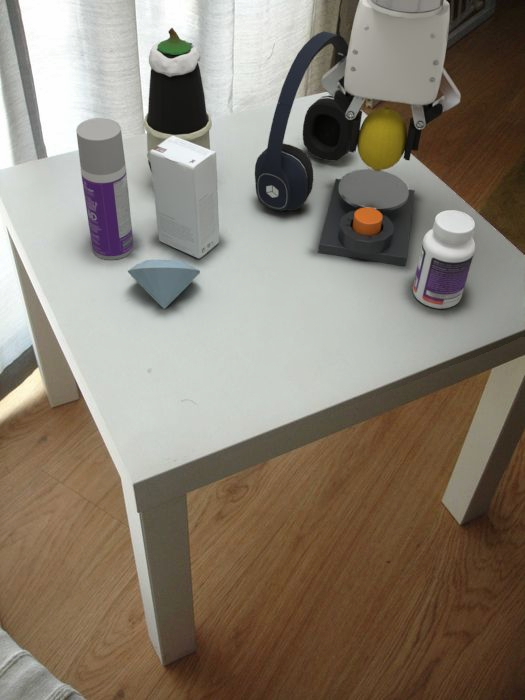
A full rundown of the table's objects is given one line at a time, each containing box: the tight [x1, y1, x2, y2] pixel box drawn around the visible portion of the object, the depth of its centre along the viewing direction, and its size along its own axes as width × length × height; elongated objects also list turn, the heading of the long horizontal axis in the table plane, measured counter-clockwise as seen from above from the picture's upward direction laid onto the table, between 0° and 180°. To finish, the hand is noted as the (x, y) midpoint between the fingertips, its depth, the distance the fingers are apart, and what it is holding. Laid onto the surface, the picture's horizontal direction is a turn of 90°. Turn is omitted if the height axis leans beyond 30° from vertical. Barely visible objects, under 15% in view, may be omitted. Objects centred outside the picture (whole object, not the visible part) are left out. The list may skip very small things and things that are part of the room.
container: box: [75, 117, 134, 261], centre depth 84 cm, size 5×5×15 cm
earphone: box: [254, 30, 352, 212], centre depth 95 cm, size 20×7×18 cm, turn 152°
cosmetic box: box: [149, 136, 220, 259], centre depth 87 cm, size 6×4×12 cm
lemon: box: [357, 106, 408, 171], centre depth 89 cm, size 6×6×8 cm
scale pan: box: [339, 168, 409, 212], centre depth 94 cm, size 8×8×1 cm
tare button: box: [353, 207, 383, 236], centre depth 89 cm, size 3×3×2 cm
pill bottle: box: [412, 209, 476, 310], centre depth 83 cm, size 5×5×10 cm
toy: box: [143, 27, 213, 174], centre depth 92 cm, size 8×8×20 cm
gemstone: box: [127, 259, 201, 310], centre depth 83 cm, size 8×8×5 cm
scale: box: [317, 178, 416, 267], centre depth 94 cm, size 10×14×3 cm
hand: (380, 148), depth 90 cm, fingers closed on lemon, 5 cm apart
